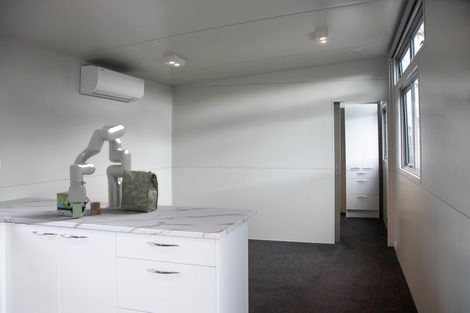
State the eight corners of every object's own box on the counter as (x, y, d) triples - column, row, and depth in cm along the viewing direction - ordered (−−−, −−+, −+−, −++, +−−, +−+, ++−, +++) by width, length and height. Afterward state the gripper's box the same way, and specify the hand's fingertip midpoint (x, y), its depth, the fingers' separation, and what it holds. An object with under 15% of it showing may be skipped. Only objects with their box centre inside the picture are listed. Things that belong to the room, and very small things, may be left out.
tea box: (56, 215, 221) (56, 192, 220) (68, 212, 230) (68, 190, 230) (74, 216, 216) (74, 193, 216) (86, 213, 225) (86, 191, 225)
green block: (82, 214, 215) (82, 202, 215) (81, 216, 210) (81, 203, 210) (74, 215, 213) (73, 202, 213) (72, 217, 209) (72, 204, 208)
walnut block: (98, 213, 226) (98, 201, 225) (100, 214, 221) (100, 202, 221) (90, 214, 223) (90, 202, 223) (92, 215, 219) (92, 203, 218)
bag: (159, 208, 241) (161, 170, 240) (147, 213, 226) (149, 172, 225) (132, 205, 248) (133, 168, 247) (118, 209, 232) (120, 169, 231)
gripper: (92, 182, 217) (93, 210, 218) (62, 184, 212) (63, 213, 213) (91, 184, 210) (92, 213, 211) (60, 185, 205) (61, 215, 205)
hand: (77, 212), depth 212 cm, fingers closed on green block, 5 cm apart
